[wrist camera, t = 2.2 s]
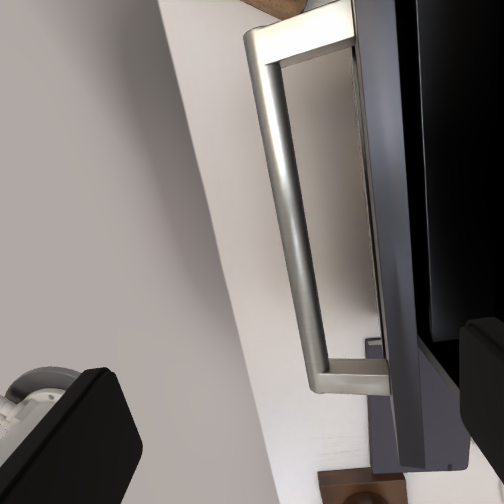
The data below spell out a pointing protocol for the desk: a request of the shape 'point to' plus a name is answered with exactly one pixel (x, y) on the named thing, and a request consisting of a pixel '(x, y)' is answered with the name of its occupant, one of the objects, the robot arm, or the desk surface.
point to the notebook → (434, 424)
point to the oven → (453, 167)
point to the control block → (362, 487)
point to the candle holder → (279, 7)
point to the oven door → (375, 192)
